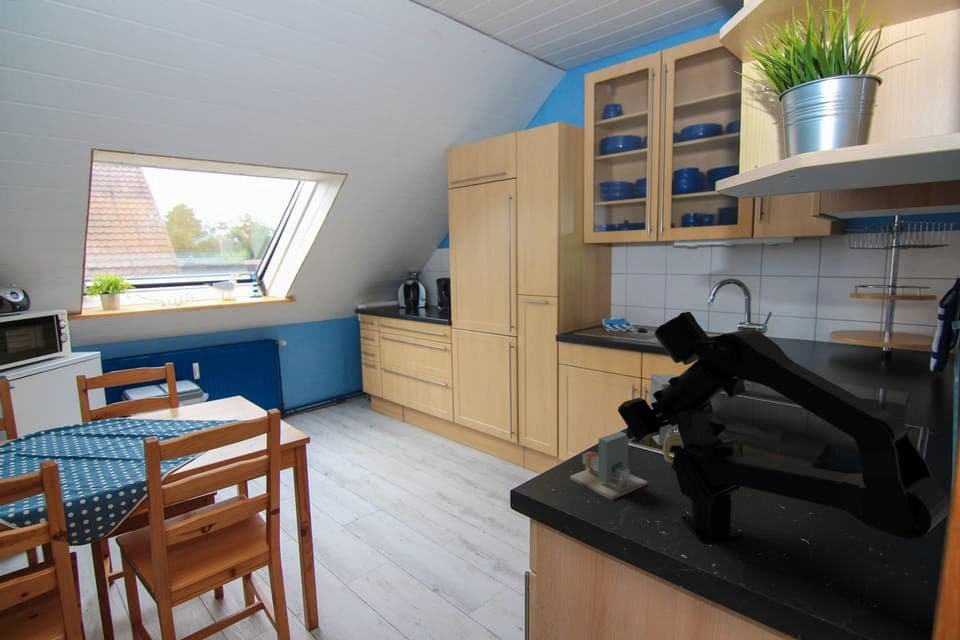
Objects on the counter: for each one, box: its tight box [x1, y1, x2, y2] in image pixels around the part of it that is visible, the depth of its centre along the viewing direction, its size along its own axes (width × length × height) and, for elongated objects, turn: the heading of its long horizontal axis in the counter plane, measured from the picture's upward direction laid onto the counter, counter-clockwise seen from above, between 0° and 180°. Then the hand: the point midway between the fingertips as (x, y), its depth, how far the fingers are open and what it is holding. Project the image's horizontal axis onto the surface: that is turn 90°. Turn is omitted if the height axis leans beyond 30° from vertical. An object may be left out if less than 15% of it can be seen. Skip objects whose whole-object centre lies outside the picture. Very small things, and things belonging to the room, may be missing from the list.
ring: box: [662, 426, 683, 465], centre depth 103 cm, size 7×3×8 cm, turn 119°
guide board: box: [569, 469, 648, 501], centre depth 96 cm, size 10×10×1 cm
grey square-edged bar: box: [581, 451, 630, 487], centre depth 96 cm, size 10×2×4 cm, turn 34°
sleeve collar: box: [598, 431, 629, 484], centre depth 95 cm, size 3×6×8 cm, turn 124°
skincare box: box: [648, 374, 682, 447], centre depth 115 cm, size 8×6×15 cm
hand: (638, 433), depth 89 cm, fingers open, 5 cm apart
